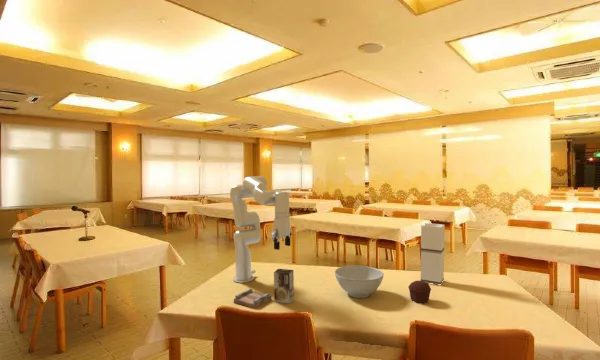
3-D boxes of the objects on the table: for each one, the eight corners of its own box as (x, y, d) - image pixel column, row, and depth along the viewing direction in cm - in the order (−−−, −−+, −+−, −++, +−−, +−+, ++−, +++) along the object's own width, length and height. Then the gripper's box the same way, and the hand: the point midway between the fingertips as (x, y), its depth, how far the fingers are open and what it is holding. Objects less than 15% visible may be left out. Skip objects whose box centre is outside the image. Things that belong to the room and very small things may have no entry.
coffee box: (294, 299, 180) (294, 269, 180) (290, 304, 174) (289, 273, 174) (278, 297, 183) (278, 268, 183) (273, 301, 177) (273, 271, 177)
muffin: (419, 306, 171) (419, 286, 170) (403, 298, 181) (403, 280, 180) (435, 301, 176) (436, 283, 176) (419, 294, 186) (419, 276, 186)
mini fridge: (443, 280, 209) (444, 224, 207) (440, 285, 200) (441, 227, 198) (424, 277, 215) (425, 223, 213) (420, 282, 206) (421, 225, 204)
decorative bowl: (387, 289, 195) (387, 268, 194) (377, 306, 170) (377, 283, 170) (343, 282, 206) (343, 263, 205) (328, 298, 182) (327, 276, 181)
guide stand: (251, 294, 188) (251, 287, 188) (271, 299, 181) (271, 292, 181) (233, 302, 176) (233, 296, 176) (254, 308, 169) (254, 301, 169)
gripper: (285, 212, 186) (286, 243, 187) (266, 216, 172) (266, 250, 172) (297, 213, 182) (297, 245, 183) (277, 217, 168) (278, 251, 168)
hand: (282, 247), depth 177 cm, fingers open, 9 cm apart
